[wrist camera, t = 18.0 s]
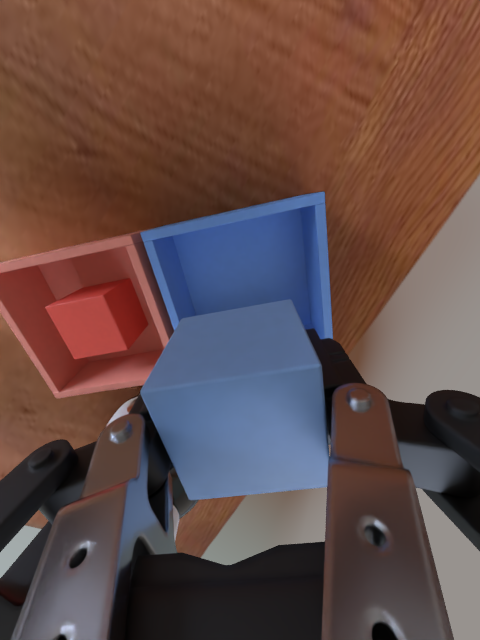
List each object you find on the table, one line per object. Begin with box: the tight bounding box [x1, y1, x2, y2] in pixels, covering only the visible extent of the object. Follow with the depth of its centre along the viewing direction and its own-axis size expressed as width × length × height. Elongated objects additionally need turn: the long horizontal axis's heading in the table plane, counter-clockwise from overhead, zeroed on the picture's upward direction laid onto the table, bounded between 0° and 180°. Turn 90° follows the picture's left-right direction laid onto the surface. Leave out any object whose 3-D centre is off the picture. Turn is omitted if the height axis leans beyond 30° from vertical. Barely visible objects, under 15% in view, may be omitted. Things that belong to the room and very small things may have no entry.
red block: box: [45, 278, 148, 359], centre depth 20 cm, size 4×4×4 cm
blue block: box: [140, 299, 329, 500], centre depth 9 cm, size 4×4×4 cm
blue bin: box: [140, 191, 333, 339], centre depth 19 cm, size 11×11×5 cm
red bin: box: [0, 227, 174, 398], centre depth 21 cm, size 11×11×5 cm
